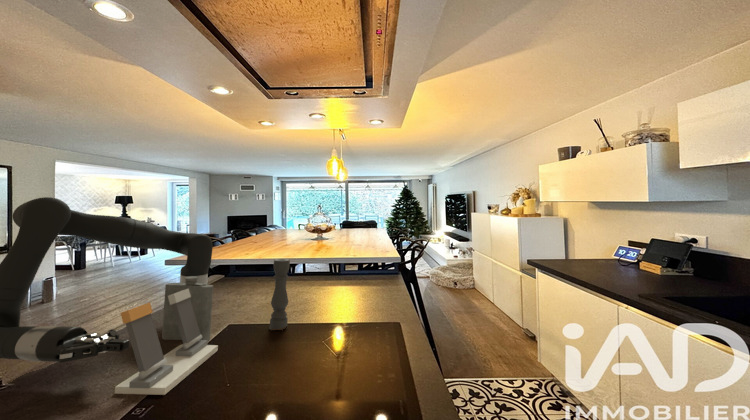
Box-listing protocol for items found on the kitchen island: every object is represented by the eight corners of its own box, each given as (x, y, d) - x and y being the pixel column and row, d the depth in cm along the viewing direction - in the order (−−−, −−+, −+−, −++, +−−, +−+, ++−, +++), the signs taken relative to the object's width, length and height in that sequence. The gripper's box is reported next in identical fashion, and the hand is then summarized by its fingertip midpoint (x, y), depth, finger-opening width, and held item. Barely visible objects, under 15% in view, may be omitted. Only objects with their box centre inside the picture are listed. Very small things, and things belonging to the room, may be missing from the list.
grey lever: (183, 349, 78) (167, 295, 79) (197, 340, 85) (182, 290, 85) (189, 347, 78) (173, 293, 79) (203, 338, 85) (188, 288, 85)
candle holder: (268, 331, 101) (272, 261, 102) (270, 325, 107) (273, 258, 108) (286, 330, 102) (290, 261, 104) (287, 324, 108) (290, 258, 109)
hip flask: (159, 339, 91) (163, 276, 92) (169, 334, 95) (173, 274, 96) (205, 342, 90) (209, 279, 91) (213, 337, 94) (217, 277, 95)
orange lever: (139, 379, 63) (120, 312, 64) (160, 365, 70) (142, 304, 70) (147, 377, 63) (128, 310, 64) (167, 363, 70) (150, 302, 70)
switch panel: (113, 394, 63) (114, 381, 63) (181, 348, 85) (182, 339, 85) (163, 395, 63) (164, 382, 63) (218, 350, 85) (218, 340, 85)
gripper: (19, 338, 60) (101, 341, 60) (82, 317, 73) (150, 319, 73) (15, 374, 60) (98, 377, 60) (80, 347, 73) (147, 349, 73)
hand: (126, 345), depth 67 cm, fingers closed
